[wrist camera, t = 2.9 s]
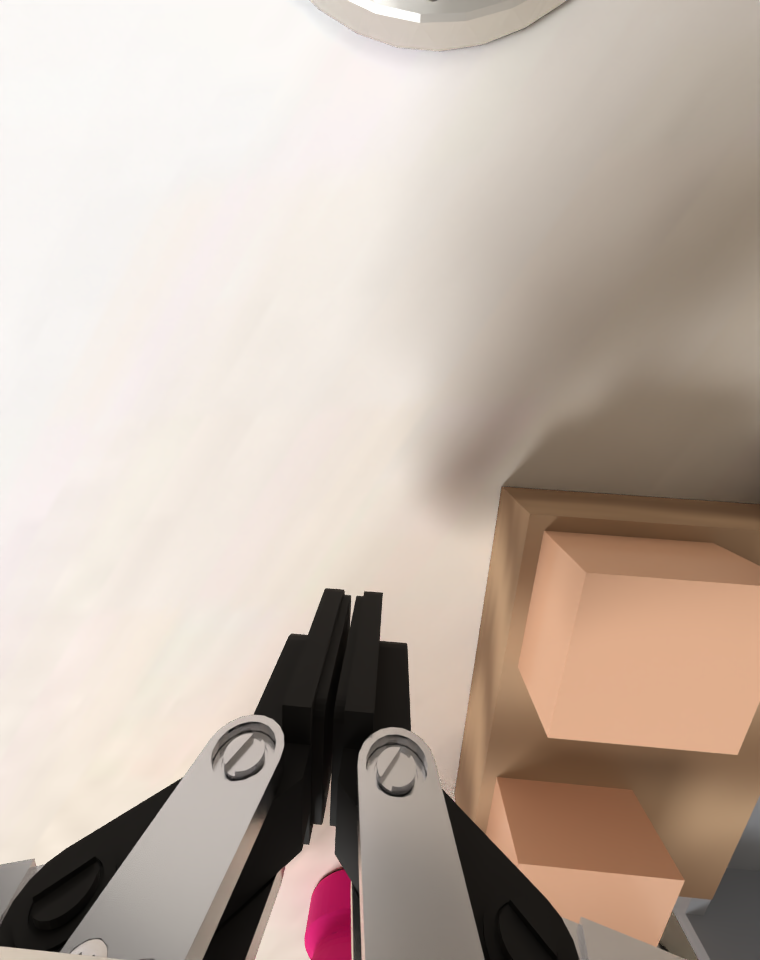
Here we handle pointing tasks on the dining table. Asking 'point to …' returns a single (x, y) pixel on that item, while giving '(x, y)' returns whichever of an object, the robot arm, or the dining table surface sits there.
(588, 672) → the tile
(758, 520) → the board
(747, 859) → the box
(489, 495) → the dining table surface
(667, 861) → the tile
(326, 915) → the pepper mill
